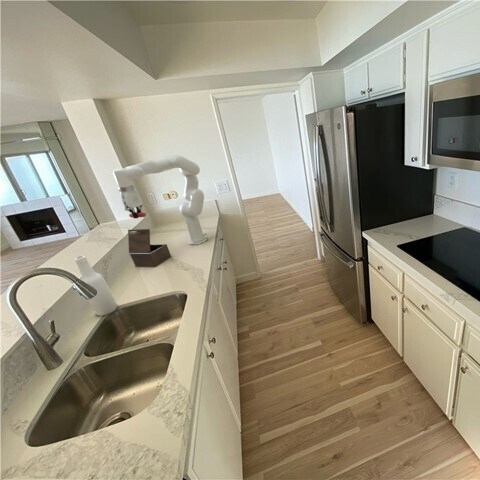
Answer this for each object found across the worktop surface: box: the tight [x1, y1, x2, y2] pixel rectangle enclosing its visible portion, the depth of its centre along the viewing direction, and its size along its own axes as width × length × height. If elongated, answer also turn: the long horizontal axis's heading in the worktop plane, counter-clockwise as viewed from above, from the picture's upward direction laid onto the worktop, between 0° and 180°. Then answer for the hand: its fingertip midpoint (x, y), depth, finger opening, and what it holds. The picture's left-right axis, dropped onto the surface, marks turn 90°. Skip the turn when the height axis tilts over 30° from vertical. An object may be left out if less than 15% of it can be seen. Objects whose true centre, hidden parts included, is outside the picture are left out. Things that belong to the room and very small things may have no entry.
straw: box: [128, 211, 147, 219], centre depth 170 cm, size 12×3×3 cm, turn 78°
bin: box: [129, 243, 172, 268], centre depth 181 cm, size 15×17×10 cm
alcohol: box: [74, 255, 118, 317], centre depth 126 cm, size 9×9×30 cm
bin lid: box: [127, 228, 151, 254], centre depth 170 cm, size 15×17×5 cm
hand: (138, 217), depth 171 cm, fingers closed on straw, 3 cm apart
